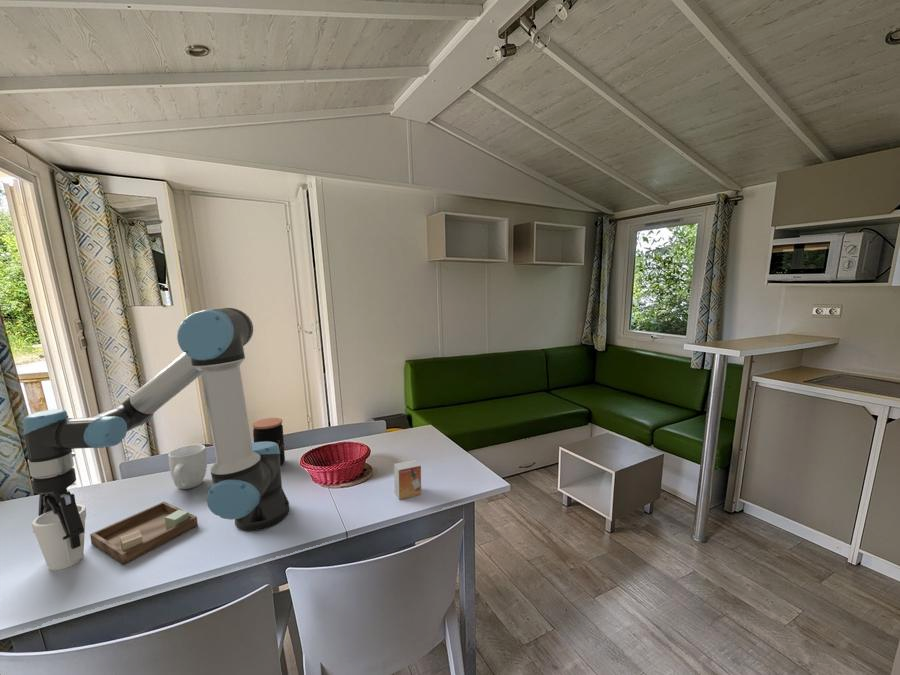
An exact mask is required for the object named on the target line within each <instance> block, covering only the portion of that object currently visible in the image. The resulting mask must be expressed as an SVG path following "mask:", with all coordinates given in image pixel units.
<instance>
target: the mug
mask: <svg viewBox="0 0 900 675" xmlns="http://www.w3.org/2000/svg"><path fill="white" fill-rule="evenodd" d="M167 457H168V466H169V472H170V475H171V476H170V477H171V479H172V480H173V484H174V486H175V487H176V488H178V489H180V490H189V489H194V488H196V487H198V486H199V485H201V484H202V483H203V481H204V478H205V477H206V474H207V467H208V463H207V462H208V461H207V459H208V458H207V448H206V445H204V444H200V443H199V444H188V445H183V446H179V447H177V448H174V449H172V450H171V451H170V452H169V453H168V455H167Z"/></svg>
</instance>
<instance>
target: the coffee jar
mask: <svg viewBox="0 0 900 675" xmlns="http://www.w3.org/2000/svg"><path fill="white" fill-rule="evenodd" d="M282 423H283V418H280V417H268V418H262V419H258V420H256V421H255V422H253V423H252V427H253V430H252V436H253V443H255V442H275V443H277V444H278V446H279V451H280V466H281V467H283V465H284V463H285V462H286V459H285V458H286V456H285V444H284V443H285V441H284V440H285V438H284V427H283V424H282Z"/></svg>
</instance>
